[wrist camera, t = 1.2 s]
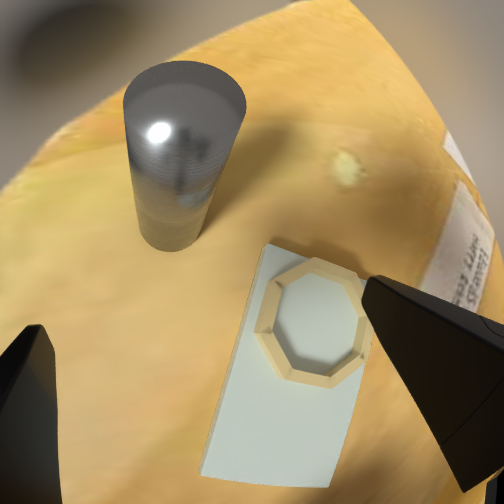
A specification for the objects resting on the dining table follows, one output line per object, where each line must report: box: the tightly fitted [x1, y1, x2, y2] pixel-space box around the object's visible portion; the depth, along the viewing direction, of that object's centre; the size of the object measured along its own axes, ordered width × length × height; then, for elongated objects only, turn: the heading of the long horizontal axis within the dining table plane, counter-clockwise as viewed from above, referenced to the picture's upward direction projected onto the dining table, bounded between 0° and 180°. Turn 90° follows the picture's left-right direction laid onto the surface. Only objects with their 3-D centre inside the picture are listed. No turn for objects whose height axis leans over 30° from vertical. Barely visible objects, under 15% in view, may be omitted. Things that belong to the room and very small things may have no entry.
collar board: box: [198, 243, 374, 487], centre depth 20 cm, size 17×10×2 cm, turn 164°
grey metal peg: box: [123, 61, 246, 252], centre depth 16 cm, size 5×5×12 cm
